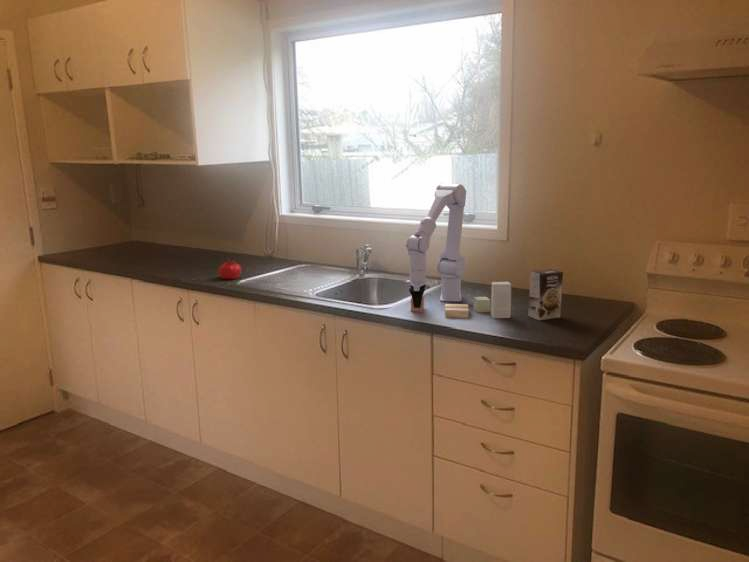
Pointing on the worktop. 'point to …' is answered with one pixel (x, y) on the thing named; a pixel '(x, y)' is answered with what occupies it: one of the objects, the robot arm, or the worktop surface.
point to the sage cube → (481, 304)
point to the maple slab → (456, 310)
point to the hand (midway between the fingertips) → (417, 305)
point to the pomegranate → (230, 270)
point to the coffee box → (545, 294)
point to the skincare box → (501, 300)
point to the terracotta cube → (420, 306)
